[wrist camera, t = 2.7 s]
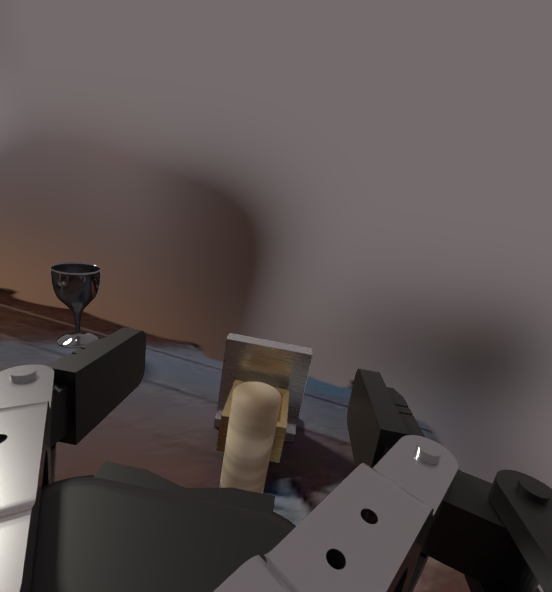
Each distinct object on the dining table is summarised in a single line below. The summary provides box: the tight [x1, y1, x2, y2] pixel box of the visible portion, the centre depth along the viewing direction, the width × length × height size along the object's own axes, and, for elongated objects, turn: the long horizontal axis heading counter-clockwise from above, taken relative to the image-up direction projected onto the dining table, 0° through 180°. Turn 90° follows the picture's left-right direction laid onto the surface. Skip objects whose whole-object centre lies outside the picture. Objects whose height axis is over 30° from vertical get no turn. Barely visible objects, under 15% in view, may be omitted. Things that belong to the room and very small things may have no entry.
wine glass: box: [51, 262, 101, 348], centre depth 62 cm, size 8×8×15 cm
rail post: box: [219, 382, 281, 494], centre depth 29 cm, size 4×4×18 cm
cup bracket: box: [214, 333, 312, 463], centre depth 43 cm, size 14×12×14 cm
